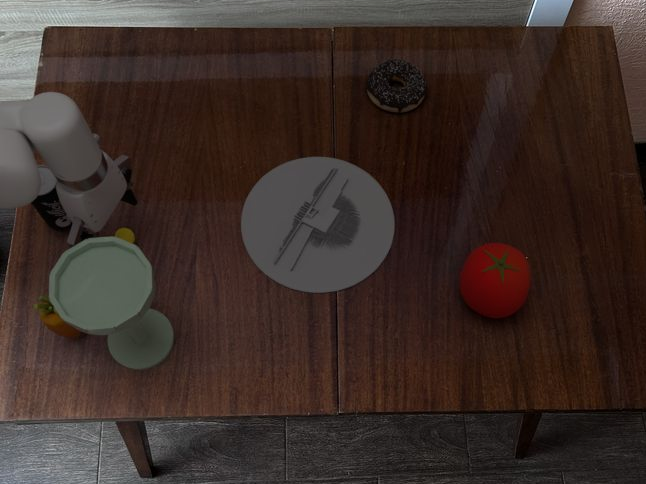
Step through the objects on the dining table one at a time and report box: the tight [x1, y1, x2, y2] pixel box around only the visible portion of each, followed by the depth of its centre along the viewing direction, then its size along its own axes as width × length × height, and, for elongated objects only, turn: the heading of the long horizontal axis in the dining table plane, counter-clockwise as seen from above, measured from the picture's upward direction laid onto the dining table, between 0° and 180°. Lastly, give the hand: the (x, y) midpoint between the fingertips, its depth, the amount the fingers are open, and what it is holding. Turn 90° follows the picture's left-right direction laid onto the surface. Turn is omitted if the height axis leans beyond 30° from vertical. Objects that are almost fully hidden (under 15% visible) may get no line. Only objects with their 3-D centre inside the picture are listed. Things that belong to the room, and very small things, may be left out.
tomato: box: [459, 242, 532, 319], centre depth 117 cm, size 13×11×14 cm
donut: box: [364, 58, 428, 114], centre depth 135 cm, size 11×12×4 cm
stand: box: [107, 308, 175, 371], centre depth 108 cm, size 11×11×21 cm
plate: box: [240, 156, 396, 294], centre depth 126 cm, size 28×28×1 cm
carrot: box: [33, 295, 81, 339], centre depth 111 cm, size 5×5×15 cm
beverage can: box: [30, 164, 73, 232], centre depth 120 cm, size 7×7×12 cm
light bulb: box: [114, 227, 136, 245], centre depth 122 cm, size 3×6×4 cm, turn 174°
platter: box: [48, 235, 157, 336], centre depth 97 cm, size 14×14×2 cm
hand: (114, 224), depth 116 cm, fingers open, 9 cm apart
